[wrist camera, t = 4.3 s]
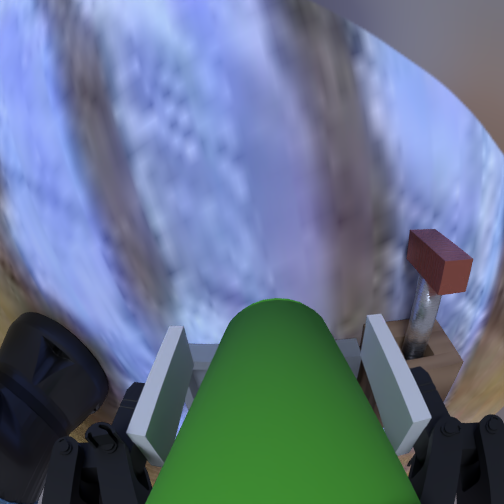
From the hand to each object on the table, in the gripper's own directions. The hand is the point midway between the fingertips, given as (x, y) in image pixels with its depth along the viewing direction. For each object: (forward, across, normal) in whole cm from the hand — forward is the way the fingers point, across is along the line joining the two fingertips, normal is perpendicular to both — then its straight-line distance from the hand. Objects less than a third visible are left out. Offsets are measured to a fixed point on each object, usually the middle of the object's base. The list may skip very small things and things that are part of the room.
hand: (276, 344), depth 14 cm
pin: (+7, +11, -2) cm, 13 cm away
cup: (+1, 0, 0) cm, 1 cm away
